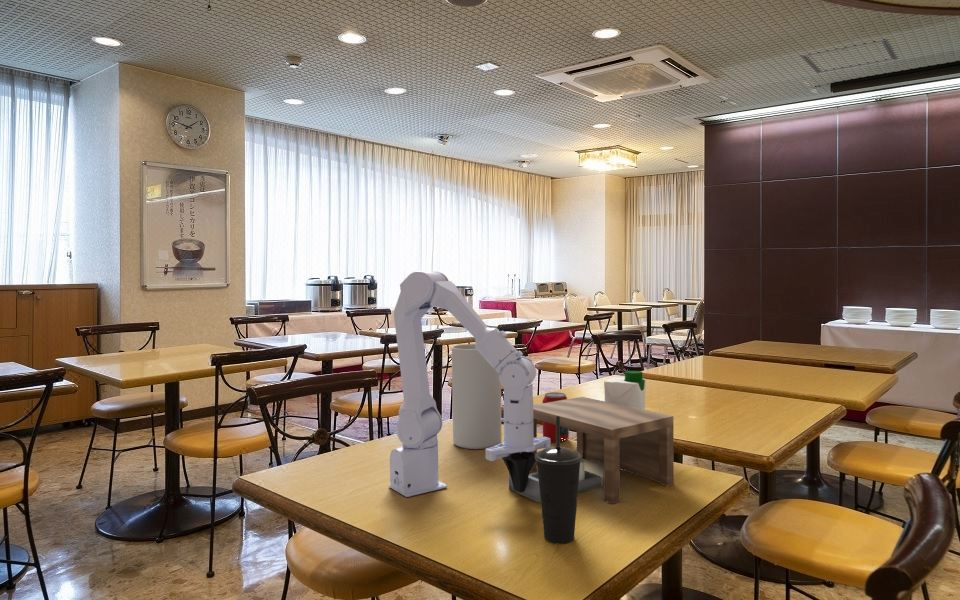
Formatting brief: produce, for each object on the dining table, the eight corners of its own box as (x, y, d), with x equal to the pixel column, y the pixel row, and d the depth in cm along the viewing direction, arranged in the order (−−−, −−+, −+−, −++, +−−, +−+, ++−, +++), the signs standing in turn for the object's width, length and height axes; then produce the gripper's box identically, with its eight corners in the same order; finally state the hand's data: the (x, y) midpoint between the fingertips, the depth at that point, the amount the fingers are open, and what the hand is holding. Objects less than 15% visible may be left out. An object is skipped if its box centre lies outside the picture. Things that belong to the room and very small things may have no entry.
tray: (541, 503, 116) (541, 476, 115) (508, 489, 124) (508, 463, 124) (601, 486, 125) (601, 460, 125) (567, 473, 133) (567, 449, 133)
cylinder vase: (480, 434, 167) (479, 342, 166) (511, 443, 158) (510, 346, 157) (443, 442, 159) (441, 346, 158) (473, 453, 150) (472, 350, 149)
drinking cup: (551, 524, 106) (550, 409, 105) (591, 535, 101) (590, 415, 100) (526, 539, 100) (525, 417, 99) (566, 552, 95) (565, 424, 95)
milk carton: (638, 462, 140) (638, 375, 140) (600, 456, 145) (599, 372, 144) (649, 452, 148) (648, 370, 147) (612, 447, 153) (612, 367, 152)
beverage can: (570, 443, 157) (570, 396, 157) (543, 443, 157) (543, 396, 157) (567, 436, 164) (566, 391, 163) (541, 436, 164) (541, 391, 163)
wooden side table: (612, 503, 115) (611, 429, 115) (524, 469, 136) (523, 406, 136) (673, 484, 125) (673, 416, 125) (582, 454, 147) (582, 396, 146)
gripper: (500, 430, 111) (501, 505, 111) (560, 419, 119) (561, 488, 120) (478, 423, 117) (479, 494, 117) (537, 412, 125) (537, 478, 126)
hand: (519, 490), depth 119 cm, fingers closed
